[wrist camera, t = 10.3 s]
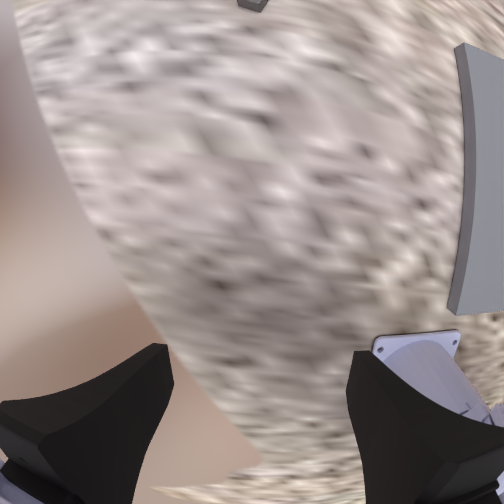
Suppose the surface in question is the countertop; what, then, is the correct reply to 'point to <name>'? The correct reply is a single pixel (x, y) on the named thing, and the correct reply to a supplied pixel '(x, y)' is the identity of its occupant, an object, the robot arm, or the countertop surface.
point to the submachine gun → (253, 4)
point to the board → (481, 186)
